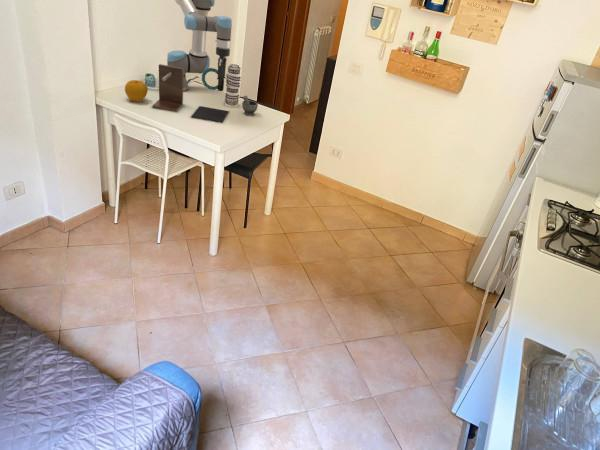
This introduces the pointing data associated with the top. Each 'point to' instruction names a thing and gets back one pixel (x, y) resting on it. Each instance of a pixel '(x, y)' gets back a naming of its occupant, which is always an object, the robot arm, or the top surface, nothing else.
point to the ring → (204, 78)
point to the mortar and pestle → (249, 106)
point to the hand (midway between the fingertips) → (220, 90)
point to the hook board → (170, 88)
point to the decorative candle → (232, 85)
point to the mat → (210, 114)
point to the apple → (136, 90)
